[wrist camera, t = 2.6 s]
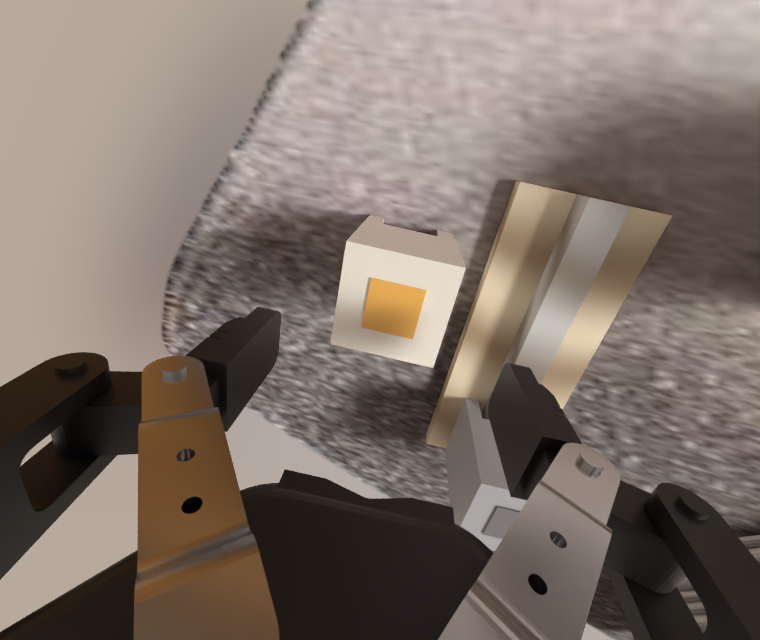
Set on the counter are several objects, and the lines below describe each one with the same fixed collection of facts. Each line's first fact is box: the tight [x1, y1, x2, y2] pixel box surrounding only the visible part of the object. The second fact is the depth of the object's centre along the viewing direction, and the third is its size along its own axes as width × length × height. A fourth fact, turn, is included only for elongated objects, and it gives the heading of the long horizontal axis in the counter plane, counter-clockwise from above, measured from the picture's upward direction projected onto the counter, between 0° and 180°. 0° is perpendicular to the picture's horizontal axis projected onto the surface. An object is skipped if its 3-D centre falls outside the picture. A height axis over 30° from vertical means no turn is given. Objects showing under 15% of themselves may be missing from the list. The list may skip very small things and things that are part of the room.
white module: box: [330, 215, 466, 368], centre depth 18 cm, size 5×5×7 cm
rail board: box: [426, 181, 672, 448], centre depth 22 cm, size 19×8×2 cm, turn 169°
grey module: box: [446, 398, 527, 551], centre depth 22 cm, size 5×5×7 cm
